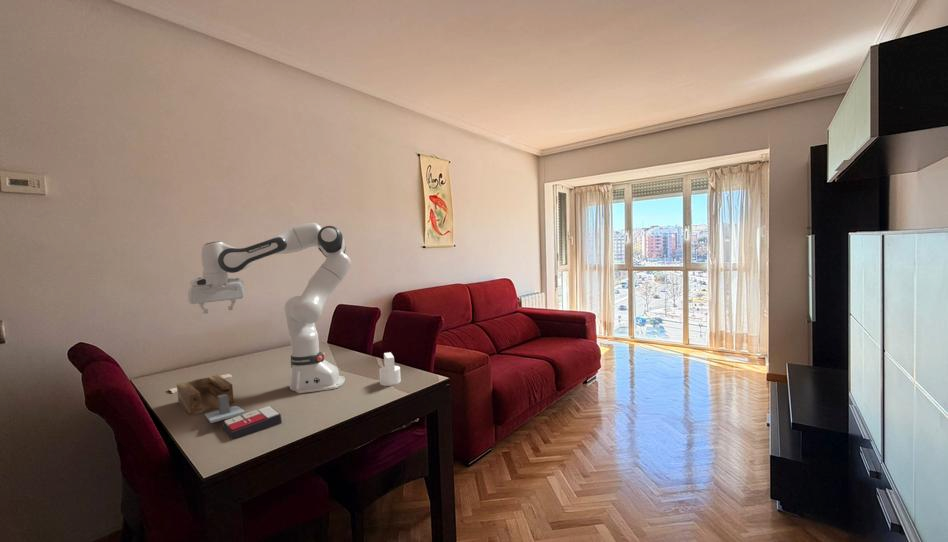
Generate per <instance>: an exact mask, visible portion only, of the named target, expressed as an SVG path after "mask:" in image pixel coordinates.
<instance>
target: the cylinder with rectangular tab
mask: <svg viewBox="0 0 948 542" xmlns="http://www.w3.org/2000/svg"><path fill="white" fill-rule="evenodd" d="M383 362H384V363H383V364H384V366H382V367H380V368H379V369H378V372H379V384H380V385H381V386H384V387H387V386H388V387H391V386H396V385H398V384H400V383H401V381H402V379H401V367H400V366H399V365H395V357H394V355H393V353H392V351H391V352H390V351H389V352H384V353H383Z"/></svg>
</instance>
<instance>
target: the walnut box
mask: <svg viewBox="0 0 948 542" xmlns="http://www.w3.org/2000/svg"><path fill="white" fill-rule="evenodd" d="M220 376H221V375H219V374H213V375H210V376H206V377H200V378H197V379H193V380H188V381H184V382H181V383H176V387H177V392H176V393H177V401H178V404H179V405H180V406H181V407H182V408H183V409H184V410H185V411H186V412H187V413H188V415H189V416H194V415H198V414H201V413H205V412H208V411H211V410H215V409H219V406H218V398H217V396H219V395H223V394H227V395H228V400H229V405H233V404H234V402H235V401H234V390H233V388H234V387H233V384H232V383H231V382H229V381H228V380H227V379H223V378H222V377H220Z"/></svg>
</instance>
